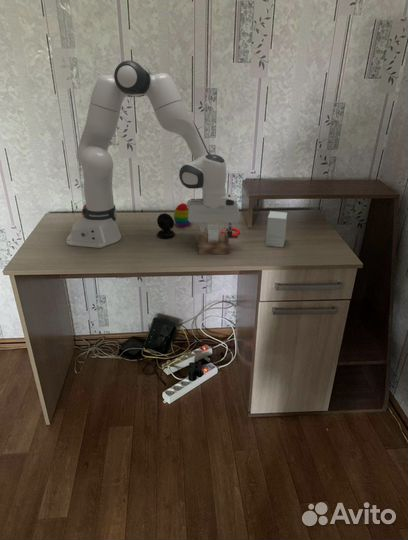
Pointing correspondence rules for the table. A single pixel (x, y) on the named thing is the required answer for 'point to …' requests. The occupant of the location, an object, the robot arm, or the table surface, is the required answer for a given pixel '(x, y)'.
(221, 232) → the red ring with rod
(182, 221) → the decorative egg
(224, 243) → the wooden tray
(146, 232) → the table surface
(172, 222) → the webcam
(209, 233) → the aluminium block
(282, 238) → the supplement box
